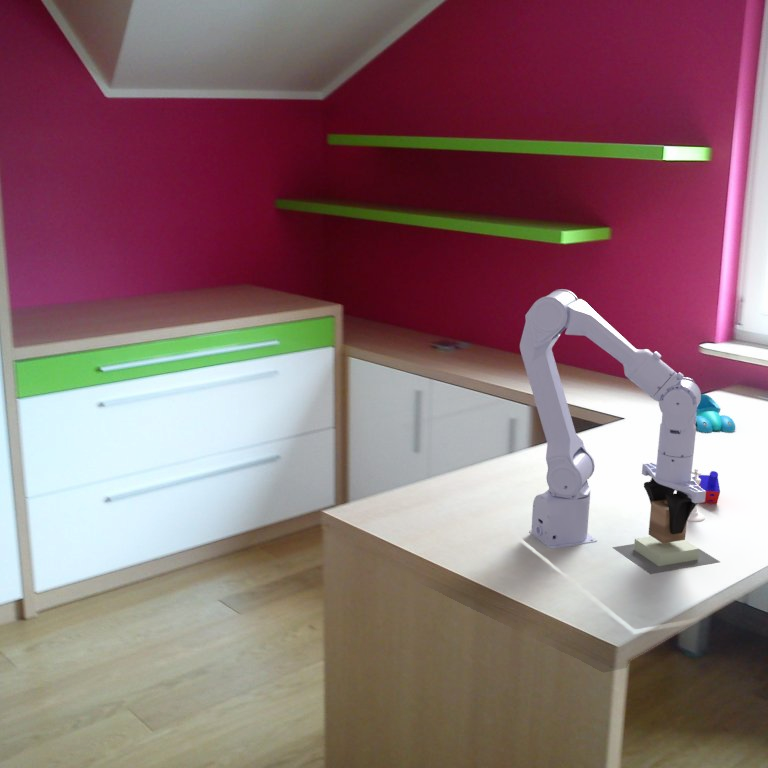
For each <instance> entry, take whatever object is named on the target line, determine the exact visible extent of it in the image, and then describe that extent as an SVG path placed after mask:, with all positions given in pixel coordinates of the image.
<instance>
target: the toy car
mask: <svg viewBox="0 0 768 768" xmlns="http://www.w3.org/2000/svg"><path fill="white" fill-rule="evenodd" d="M696 412H697V413H696V418H697V420H696V424H695V425H696V431H697V432H699V433H704V434H710V433H712V432H724V433H734V432H735V431H736V424H735V421H734V420H733V418H731V417H730V416H727V415H723V414H722V415H720V413H721V407H720V406H719V405H718V403H717V402H716V401H715V400H714V399H713V398H712V397H711V396H710V395H707V394H704V393H703V394H702V393H701V400H700V403H699V405H698V407H697V409H696Z"/></svg>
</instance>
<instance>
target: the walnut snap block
mask: <svg viewBox="0 0 768 768" xmlns="http://www.w3.org/2000/svg"><path fill="white" fill-rule="evenodd" d="M649 514H650V515H649V522H648V523H649V525H648V535H649V536H652V537H653V538H655V539H657V540H658V541H660V542H661V543H669V542H675V541H681V540H686V534H687V533H686V532H687V523H688V521H687V522H686V525H685V527H684V530H683V532H682V533H678V534H671V533H670V523H669V522H670V513H669V506H668V502H667V499H665V500H659V501H652V502H651V503H650V513H649Z"/></svg>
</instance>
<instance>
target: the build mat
mask: <svg viewBox="0 0 768 768" xmlns="http://www.w3.org/2000/svg"><path fill="white" fill-rule="evenodd" d="M612 548H613V549H614V550H615V551H617V552H618V553H619V554H622V555H623V556H624V557H625V558H627V559H629V560H630V561H631V562H632V563H634V564H635V565H637V566H638V567H640V568H642V570H643V571H645V572H647V573H648V574H649V575H654V574H658V573H659V574H660V573H666V572H671V571H676V570H681V569H683V570H684V569H689V568H694V567H699V566H700V567H701V566H704V565H706V566H707V565H712V564H717V563H721V561H720V560H718V559H716V558H715V557H714V556H712V555H710V554H709V553H707V552H705V550H702V549H700V548H699V556H698V560H692V561H686V562H681V563H675V564H669V565H663V566H657V565H656V564H654V563H653V562H652V561H650V560H649V559H647V558H646V557H644V556H643V555H641V554H640V553H638V552H637V551H635V550H634V543H633V544H625V545H618V546H613V547H612Z"/></svg>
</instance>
